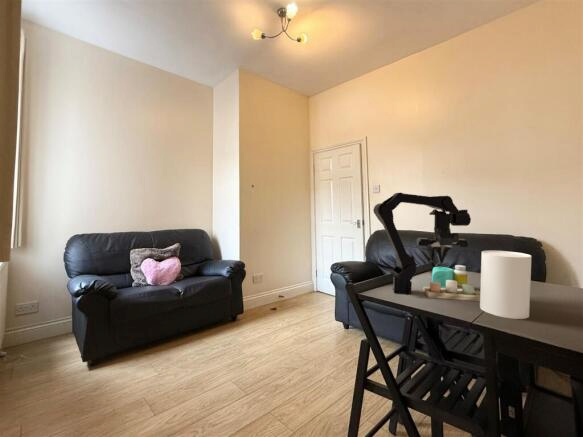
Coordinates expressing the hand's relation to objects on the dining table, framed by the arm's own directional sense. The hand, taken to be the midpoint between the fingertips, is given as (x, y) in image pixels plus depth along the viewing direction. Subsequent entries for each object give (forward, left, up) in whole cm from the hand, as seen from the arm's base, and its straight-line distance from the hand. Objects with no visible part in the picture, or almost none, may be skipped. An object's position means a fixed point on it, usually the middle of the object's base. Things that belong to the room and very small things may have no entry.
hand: (441, 262), depth 117 cm
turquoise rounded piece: (+3, +10, -13) cm, 17 cm away
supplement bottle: (+10, +9, -13) cm, 19 cm away
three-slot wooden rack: (+3, -4, -12) cm, 13 cm away
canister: (+15, -18, -13) cm, 27 cm away
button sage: (+9, -4, -12) cm, 16 cm away
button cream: (+3, -4, -11) cm, 12 cm away
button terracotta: (-3, -4, -12) cm, 13 cm away
